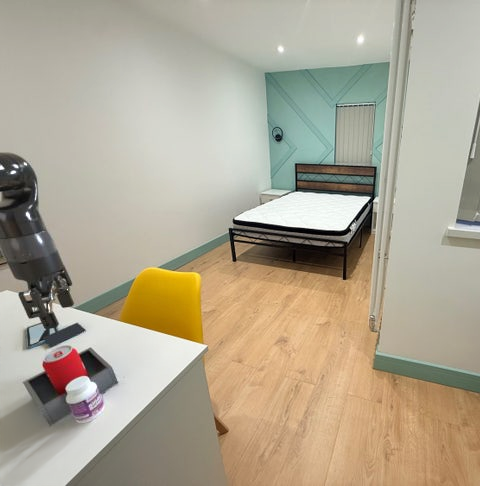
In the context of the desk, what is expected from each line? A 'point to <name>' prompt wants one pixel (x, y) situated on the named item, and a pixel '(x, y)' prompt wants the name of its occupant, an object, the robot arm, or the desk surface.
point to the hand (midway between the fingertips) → (60, 316)
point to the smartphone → (37, 334)
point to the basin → (56, 405)
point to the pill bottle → (84, 399)
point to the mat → (63, 334)
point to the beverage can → (63, 367)
